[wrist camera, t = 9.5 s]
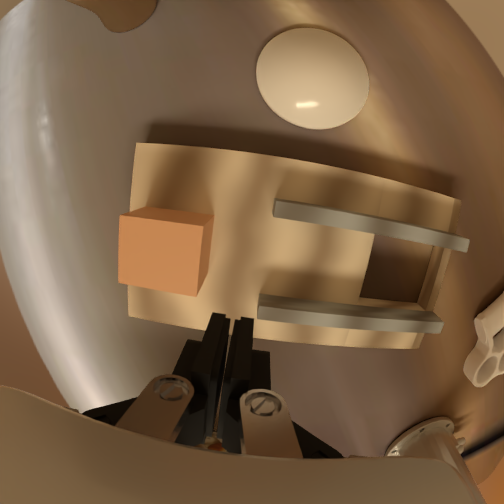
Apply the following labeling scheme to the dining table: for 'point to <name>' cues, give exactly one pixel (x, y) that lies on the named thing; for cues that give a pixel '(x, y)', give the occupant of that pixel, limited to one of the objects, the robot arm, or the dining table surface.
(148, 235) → the block
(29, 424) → the robot arm
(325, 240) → the board
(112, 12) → the beer glass
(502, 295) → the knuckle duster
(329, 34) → the coaster
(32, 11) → the dining table surface
